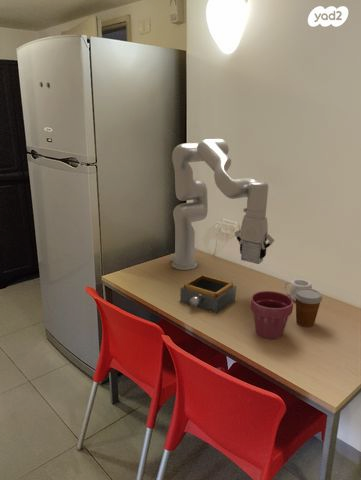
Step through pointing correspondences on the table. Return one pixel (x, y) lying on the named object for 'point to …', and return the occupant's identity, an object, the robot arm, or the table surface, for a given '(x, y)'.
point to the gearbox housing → (208, 293)
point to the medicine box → (251, 252)
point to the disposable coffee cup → (307, 306)
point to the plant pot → (271, 313)
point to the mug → (297, 286)
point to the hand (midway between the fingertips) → (252, 255)
